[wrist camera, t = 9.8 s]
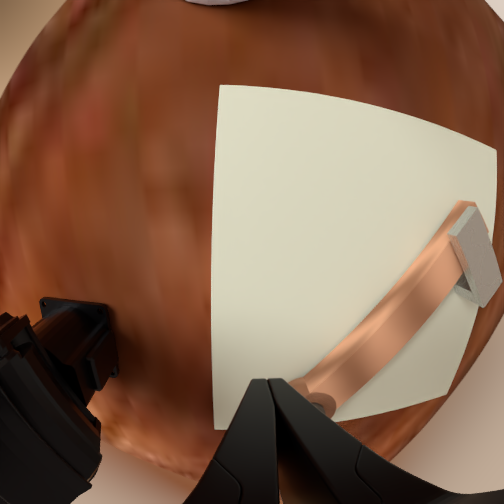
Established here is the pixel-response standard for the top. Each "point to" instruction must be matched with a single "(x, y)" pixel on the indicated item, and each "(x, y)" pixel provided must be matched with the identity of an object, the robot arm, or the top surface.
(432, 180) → the base board
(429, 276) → the link
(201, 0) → the soap bottle
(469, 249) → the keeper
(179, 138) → the top surface
